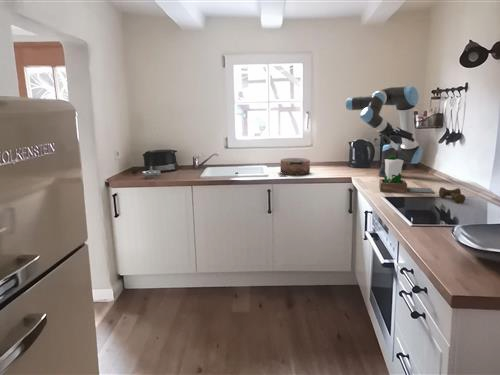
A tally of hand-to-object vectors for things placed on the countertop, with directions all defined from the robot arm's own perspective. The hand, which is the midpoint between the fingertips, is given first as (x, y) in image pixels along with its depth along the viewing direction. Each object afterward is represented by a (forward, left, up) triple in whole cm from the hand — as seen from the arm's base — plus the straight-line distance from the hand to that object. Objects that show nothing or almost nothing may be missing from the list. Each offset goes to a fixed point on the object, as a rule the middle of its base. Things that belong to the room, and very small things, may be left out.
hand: (406, 146), depth 229 cm
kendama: (+26, +21, -26) cm, 42 cm away
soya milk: (+6, -7, -26) cm, 27 cm away
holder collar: (+6, -7, -26) cm, 27 cm away
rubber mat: (+6, +8, -26) cm, 28 cm away
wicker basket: (-45, -74, -26) cm, 90 cm away
